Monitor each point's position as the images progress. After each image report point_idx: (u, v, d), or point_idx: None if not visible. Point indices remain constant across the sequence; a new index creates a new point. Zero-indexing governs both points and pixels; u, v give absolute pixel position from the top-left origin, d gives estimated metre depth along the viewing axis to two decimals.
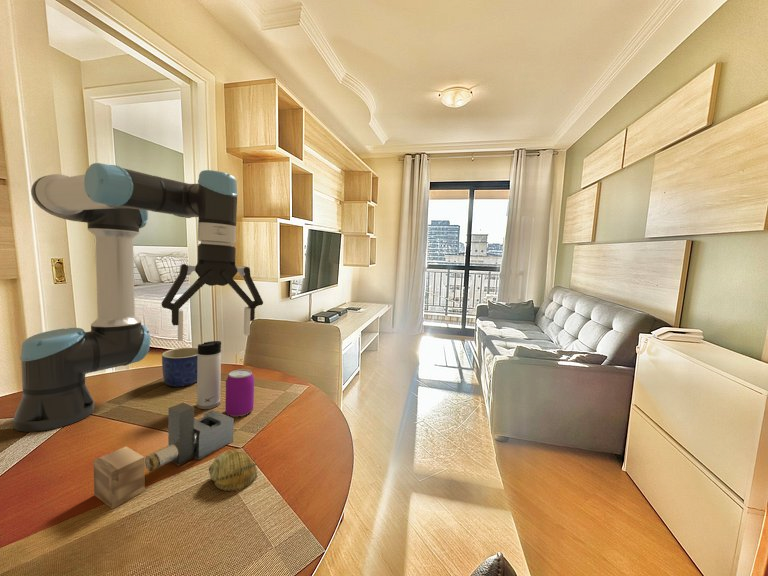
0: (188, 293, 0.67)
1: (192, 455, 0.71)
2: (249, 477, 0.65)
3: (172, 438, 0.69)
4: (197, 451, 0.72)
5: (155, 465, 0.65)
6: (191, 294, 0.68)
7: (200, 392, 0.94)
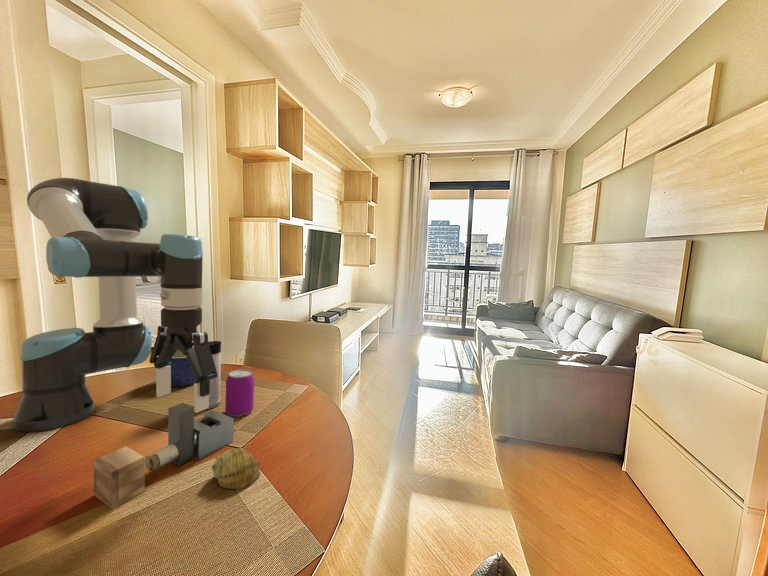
0: (161, 353, 0.70)
1: (192, 455, 0.71)
2: (252, 476, 0.65)
3: (172, 438, 0.69)
4: (197, 451, 0.72)
5: (155, 465, 0.65)
6: (162, 355, 0.70)
7: None
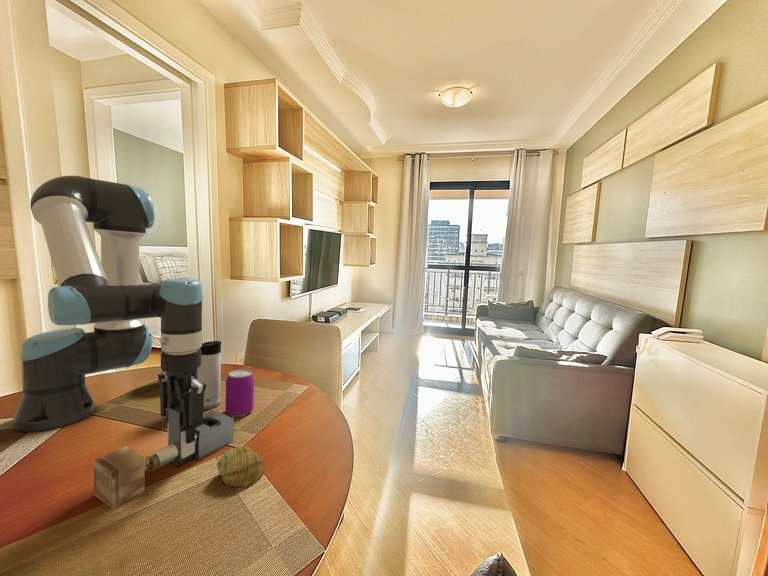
0: (168, 403, 0.70)
1: (192, 455, 0.71)
2: (255, 474, 0.66)
3: (172, 438, 0.69)
4: (197, 451, 0.72)
5: (155, 465, 0.65)
6: (169, 403, 0.70)
7: None
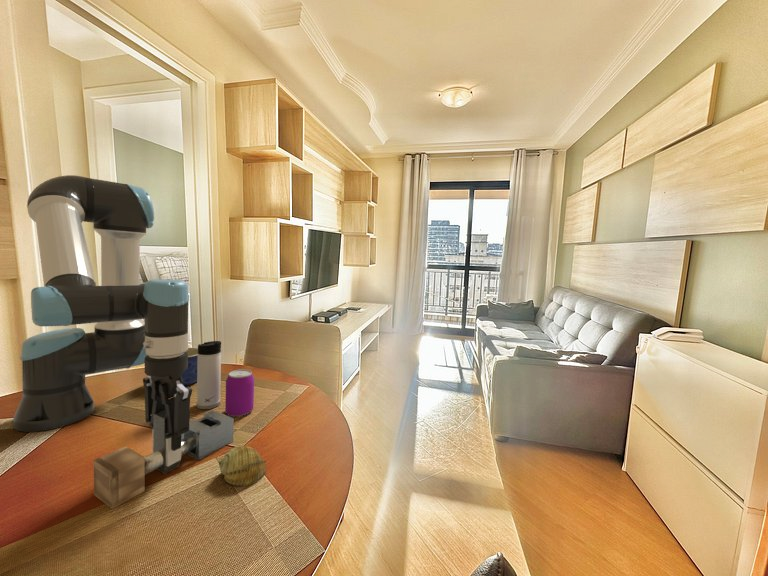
0: (153, 409, 0.67)
1: (178, 462, 0.69)
2: (257, 474, 0.66)
3: (157, 445, 0.67)
4: (197, 451, 0.72)
5: None
6: (154, 409, 0.67)
7: (200, 392, 0.94)
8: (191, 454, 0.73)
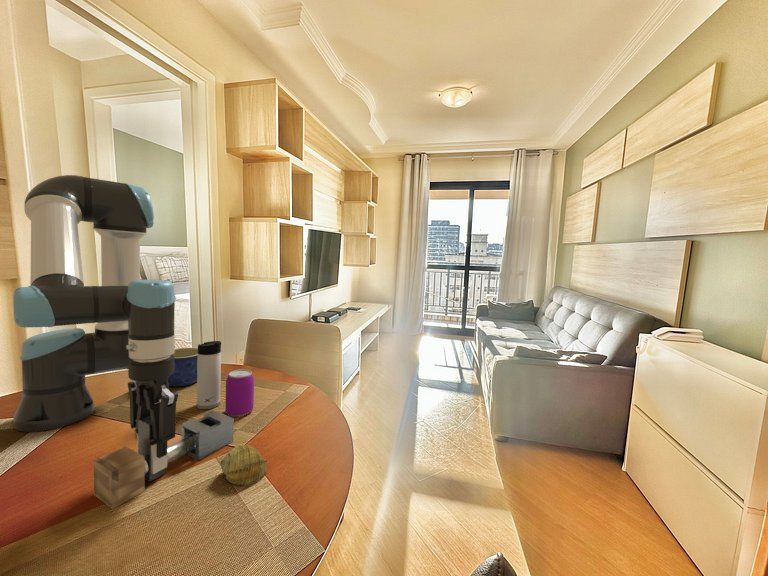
0: (137, 414, 0.65)
1: (164, 470, 0.66)
2: (258, 473, 0.66)
3: (142, 452, 0.64)
4: (197, 451, 0.72)
5: None
6: (139, 414, 0.65)
7: (200, 392, 0.94)
8: (191, 454, 0.73)
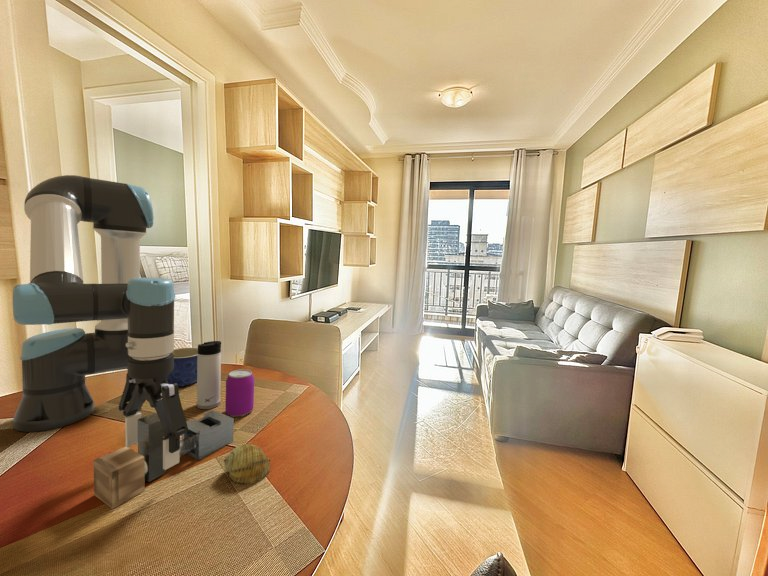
0: (130, 402, 0.66)
1: (164, 470, 0.66)
2: (261, 472, 0.67)
3: (141, 452, 0.64)
4: (197, 451, 0.72)
5: None
6: (131, 403, 0.66)
7: (200, 392, 0.94)
8: (191, 454, 0.73)
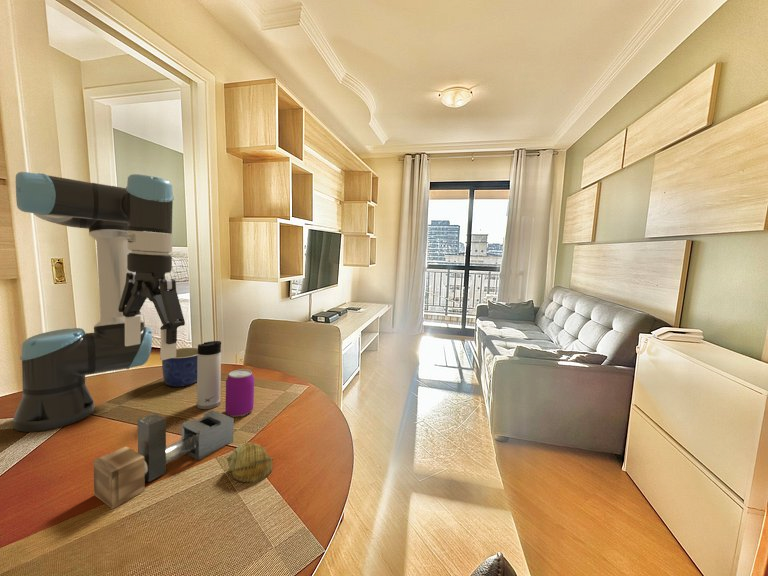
0: (129, 301, 0.69)
1: (164, 470, 0.66)
2: (263, 471, 0.67)
3: (141, 452, 0.64)
4: (197, 451, 0.72)
5: None
6: (131, 302, 0.68)
7: (200, 392, 0.94)
8: (191, 454, 0.73)
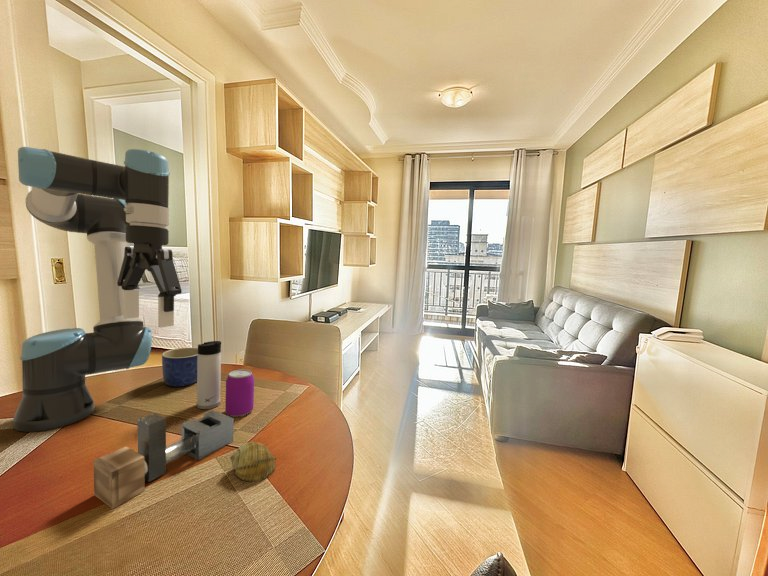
0: (128, 274, 0.71)
1: (164, 470, 0.66)
2: (266, 470, 0.67)
3: (141, 452, 0.64)
4: (197, 451, 0.72)
5: None
6: (129, 275, 0.71)
7: (200, 392, 0.94)
8: (191, 454, 0.73)
